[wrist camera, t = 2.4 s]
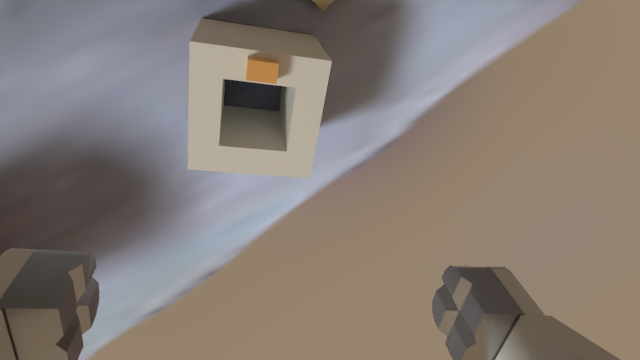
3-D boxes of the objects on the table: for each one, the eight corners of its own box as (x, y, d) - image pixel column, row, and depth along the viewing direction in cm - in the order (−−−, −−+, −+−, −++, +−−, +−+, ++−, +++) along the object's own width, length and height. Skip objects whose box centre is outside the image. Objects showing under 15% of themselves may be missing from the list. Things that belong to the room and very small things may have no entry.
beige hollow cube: (198, 124, 22) (186, 176, 18) (201, 18, 20) (188, 44, 15) (298, 134, 24) (311, 184, 19) (314, 35, 21) (334, 65, 16)
